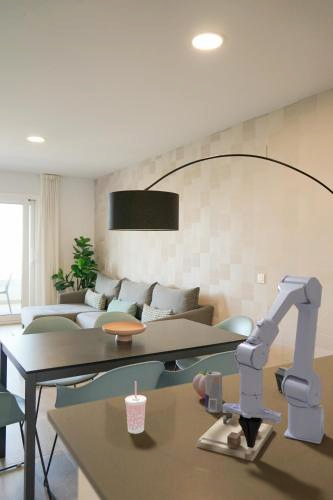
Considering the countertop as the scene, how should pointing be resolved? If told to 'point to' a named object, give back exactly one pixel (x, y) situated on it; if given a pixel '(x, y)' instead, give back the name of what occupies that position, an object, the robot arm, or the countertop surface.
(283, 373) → the electrical switch
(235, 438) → the walnut slider
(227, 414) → the grey rectangular block
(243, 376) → the robot arm
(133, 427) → the beverage cup
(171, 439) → the countertop surface
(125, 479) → the countertop surface
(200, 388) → the decorative fruit
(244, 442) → the control panel
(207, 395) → the energy drink
